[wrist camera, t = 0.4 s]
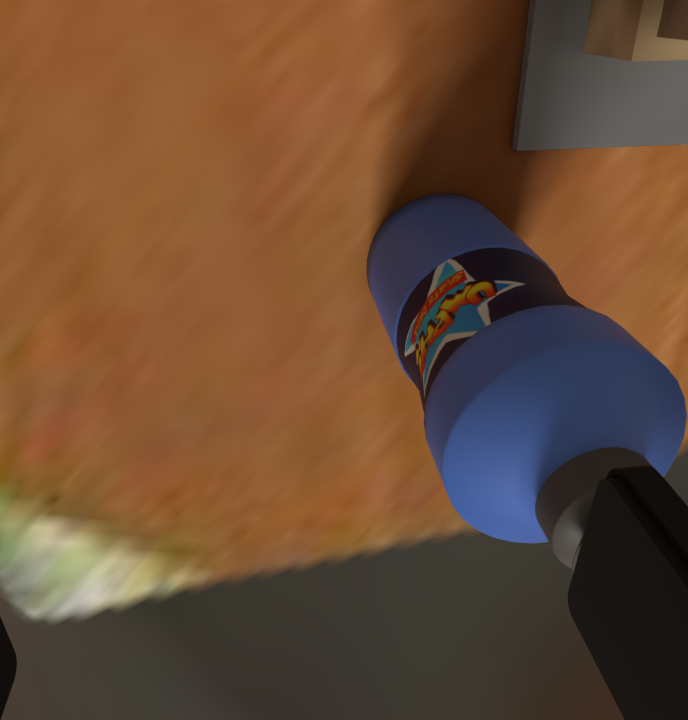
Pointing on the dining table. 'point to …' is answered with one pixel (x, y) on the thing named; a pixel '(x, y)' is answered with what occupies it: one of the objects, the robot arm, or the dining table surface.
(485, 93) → the dining table surface
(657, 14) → the base block
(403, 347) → the water bottle
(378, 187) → the dining table surface
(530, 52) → the slate board
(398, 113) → the dining table surface
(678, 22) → the walnut cube
